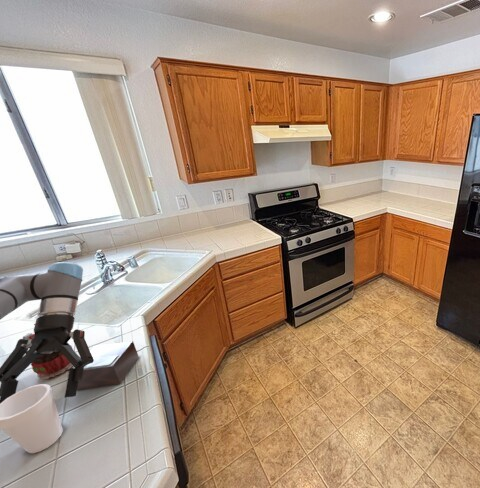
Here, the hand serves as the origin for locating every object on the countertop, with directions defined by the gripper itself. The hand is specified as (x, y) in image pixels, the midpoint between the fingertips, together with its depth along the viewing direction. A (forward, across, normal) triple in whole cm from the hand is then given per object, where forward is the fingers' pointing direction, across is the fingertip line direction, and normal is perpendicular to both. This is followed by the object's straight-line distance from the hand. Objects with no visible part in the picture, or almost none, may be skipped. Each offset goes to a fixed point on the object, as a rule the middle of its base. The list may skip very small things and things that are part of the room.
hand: (37, 404), depth 64 cm
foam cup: (+8, 0, -5) cm, 10 cm away
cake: (-11, +14, -24) cm, 30 cm away
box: (-6, -5, -19) cm, 21 cm away
